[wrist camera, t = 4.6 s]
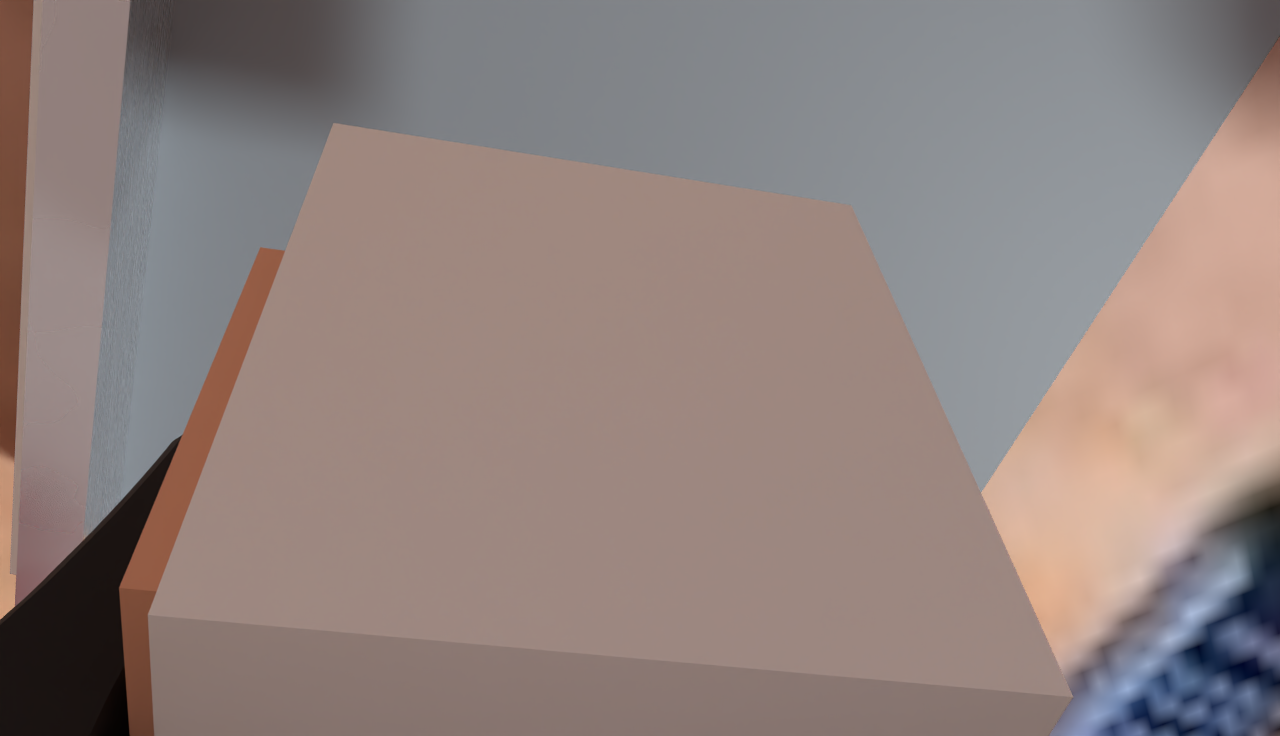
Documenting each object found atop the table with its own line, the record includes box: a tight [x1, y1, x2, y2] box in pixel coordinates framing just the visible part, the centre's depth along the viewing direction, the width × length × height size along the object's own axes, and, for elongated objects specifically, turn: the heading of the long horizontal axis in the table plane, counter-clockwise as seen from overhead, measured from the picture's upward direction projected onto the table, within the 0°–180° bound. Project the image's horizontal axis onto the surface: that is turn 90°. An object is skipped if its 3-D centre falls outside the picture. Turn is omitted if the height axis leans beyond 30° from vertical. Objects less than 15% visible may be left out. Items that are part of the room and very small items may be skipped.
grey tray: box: [10, 0, 1280, 606], centre depth 19 cm, size 17×17×3 cm
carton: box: [119, 123, 1073, 736], centre depth 11 cm, size 5×7×6 cm
